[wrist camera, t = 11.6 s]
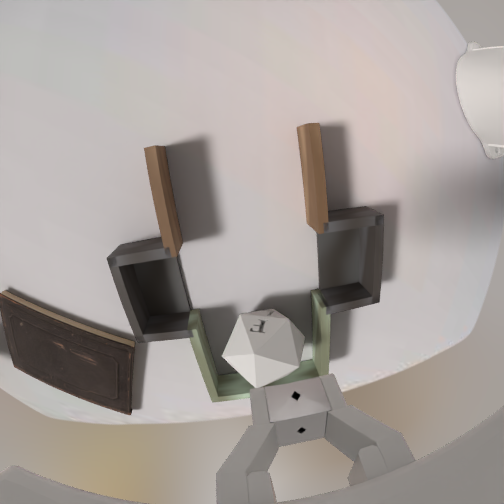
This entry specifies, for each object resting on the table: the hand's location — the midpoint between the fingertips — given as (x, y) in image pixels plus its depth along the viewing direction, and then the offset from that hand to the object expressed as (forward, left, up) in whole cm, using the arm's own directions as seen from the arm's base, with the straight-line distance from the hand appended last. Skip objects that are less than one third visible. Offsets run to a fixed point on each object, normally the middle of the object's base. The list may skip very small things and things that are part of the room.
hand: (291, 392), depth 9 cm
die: (0, +12, -21) cm, 24 cm away
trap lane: (0, +5, -21) cm, 21 cm away
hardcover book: (+30, +14, -22) cm, 39 cm away
